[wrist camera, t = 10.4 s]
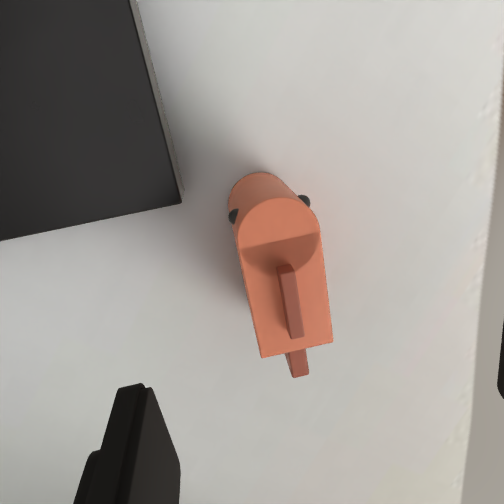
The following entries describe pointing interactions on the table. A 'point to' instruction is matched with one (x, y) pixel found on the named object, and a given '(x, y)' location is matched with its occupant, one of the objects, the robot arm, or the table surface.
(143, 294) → the table surface
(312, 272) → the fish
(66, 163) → the hot plate
